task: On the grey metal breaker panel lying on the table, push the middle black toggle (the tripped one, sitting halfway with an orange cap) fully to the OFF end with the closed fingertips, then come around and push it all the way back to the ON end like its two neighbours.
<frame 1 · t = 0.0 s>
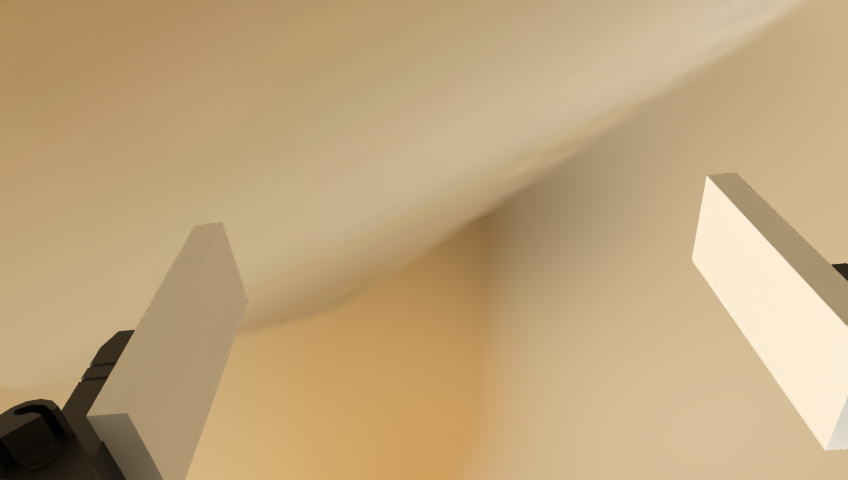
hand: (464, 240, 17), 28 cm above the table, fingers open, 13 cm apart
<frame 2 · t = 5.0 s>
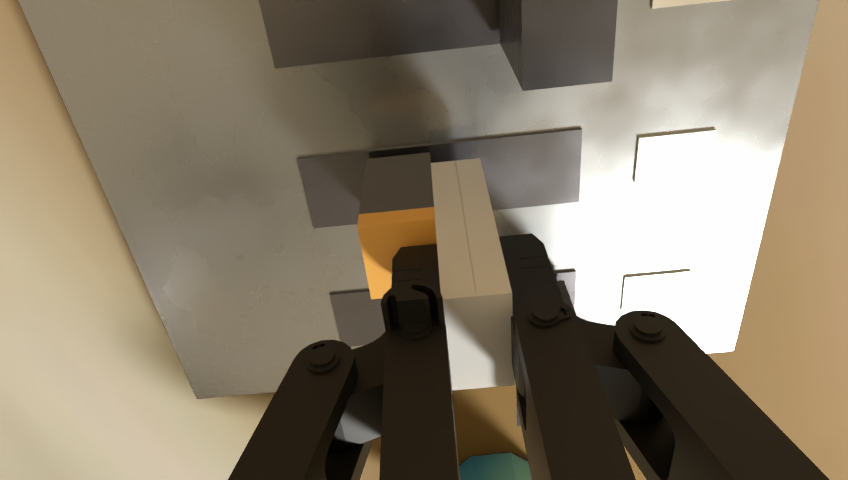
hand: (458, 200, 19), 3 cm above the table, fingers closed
tripped breaker: (402, 221, 18), point 4 cm above the table, slide at -1.3 cm, touching gripper
panel: (439, 153, 21), on the table
cup: (508, 475, 32), on the table
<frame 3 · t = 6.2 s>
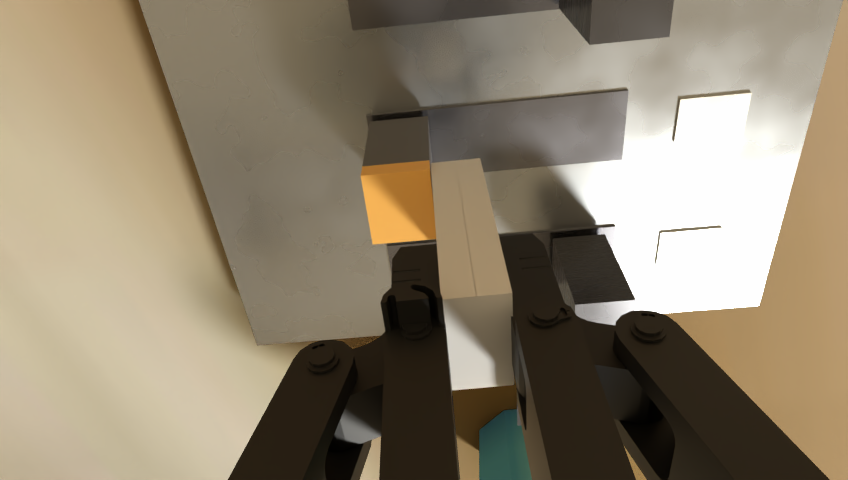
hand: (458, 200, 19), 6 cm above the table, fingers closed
tripped breaker: (401, 177, 20), point 4 cm above the table, slide at -3.4 cm
panel: (491, 115, 23), on the table
cup: (538, 429, 34), on the table
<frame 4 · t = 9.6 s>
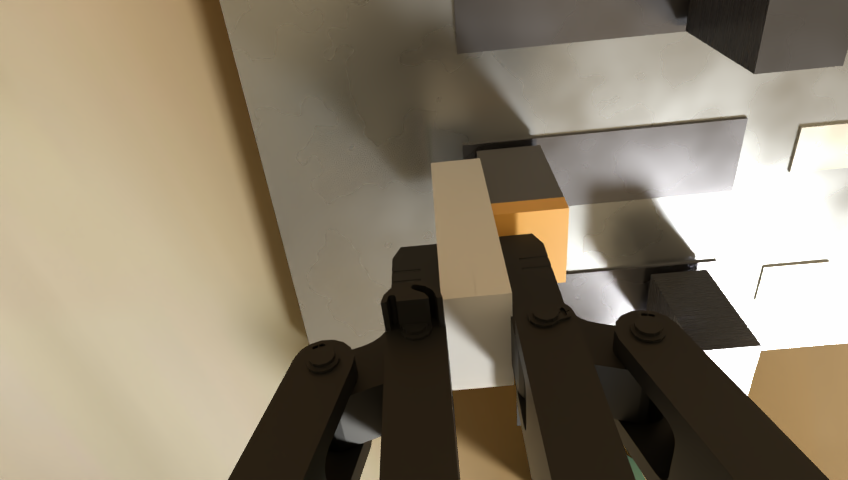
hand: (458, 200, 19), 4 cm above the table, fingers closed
tripped breaker: (518, 212, 18), point 4 cm above the table, slide at -3.1 cm, touching gripper
panel: (585, 143, 21), on the table
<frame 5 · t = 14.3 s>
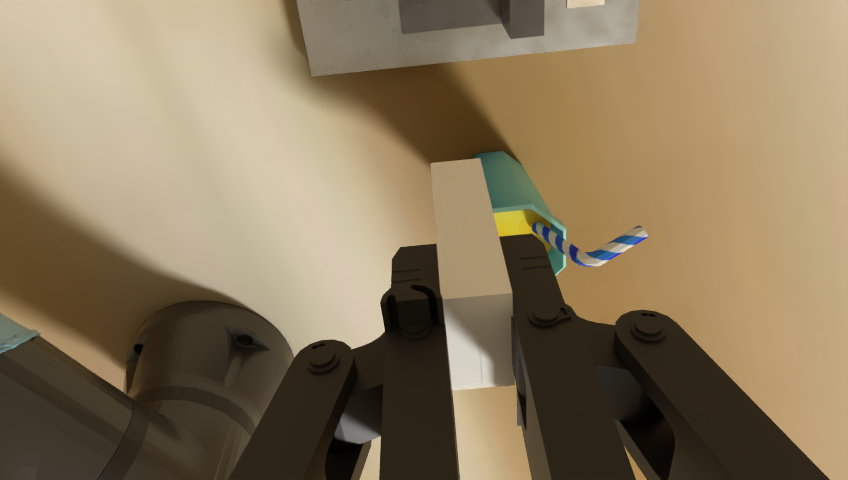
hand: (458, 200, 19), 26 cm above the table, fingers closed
cup: (501, 174, 48), on the table
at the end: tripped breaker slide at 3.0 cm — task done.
